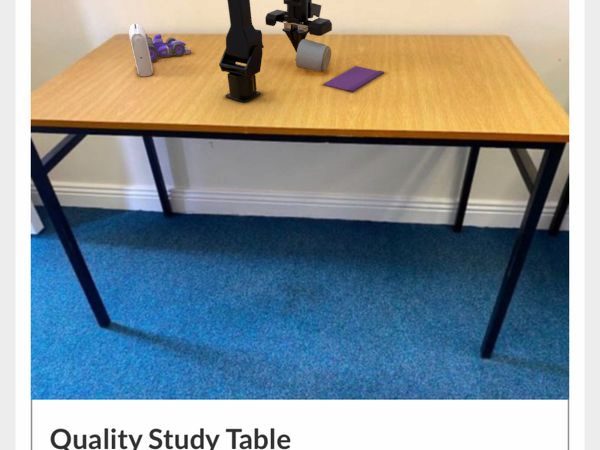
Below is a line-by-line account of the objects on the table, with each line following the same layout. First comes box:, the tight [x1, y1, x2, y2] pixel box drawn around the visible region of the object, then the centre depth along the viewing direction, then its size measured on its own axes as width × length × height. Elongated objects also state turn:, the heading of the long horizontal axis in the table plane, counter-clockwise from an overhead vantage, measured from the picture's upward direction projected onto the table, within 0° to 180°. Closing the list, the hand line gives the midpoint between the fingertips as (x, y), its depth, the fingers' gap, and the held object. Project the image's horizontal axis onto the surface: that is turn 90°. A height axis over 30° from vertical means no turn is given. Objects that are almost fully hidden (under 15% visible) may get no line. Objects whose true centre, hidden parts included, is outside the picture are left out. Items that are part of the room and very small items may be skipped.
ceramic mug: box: [295, 38, 332, 73], centre depth 130 cm, size 11×8×8 cm
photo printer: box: [128, 23, 154, 77], centre depth 131 cm, size 10×4×12 cm, turn 17°
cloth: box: [322, 65, 385, 94], centre depth 126 cm, size 16×9×1 cm, turn 142°
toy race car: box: [145, 33, 192, 64], centre depth 143 cm, size 10×15×6 cm, turn 120°
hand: (298, 53), depth 134 cm, fingers closed
